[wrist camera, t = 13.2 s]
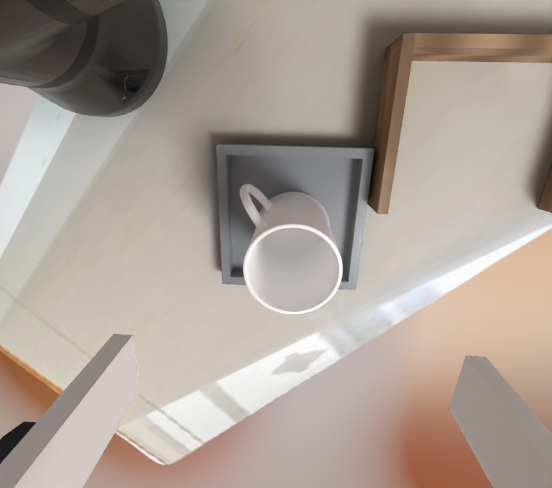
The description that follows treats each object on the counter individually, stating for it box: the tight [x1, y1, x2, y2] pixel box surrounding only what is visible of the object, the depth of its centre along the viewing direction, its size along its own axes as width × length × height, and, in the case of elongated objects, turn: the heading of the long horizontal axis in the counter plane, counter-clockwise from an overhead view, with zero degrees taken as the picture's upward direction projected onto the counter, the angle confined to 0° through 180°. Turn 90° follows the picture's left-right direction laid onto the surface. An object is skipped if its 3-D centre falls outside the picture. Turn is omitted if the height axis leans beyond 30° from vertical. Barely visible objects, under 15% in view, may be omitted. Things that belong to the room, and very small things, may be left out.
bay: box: [367, 33, 552, 214], centre depth 29 cm, size 20×15×5 cm
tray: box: [216, 144, 374, 290], centre depth 35 cm, size 16×16×2 cm
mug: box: [240, 184, 343, 314], centre depth 30 cm, size 12×8×12 cm
